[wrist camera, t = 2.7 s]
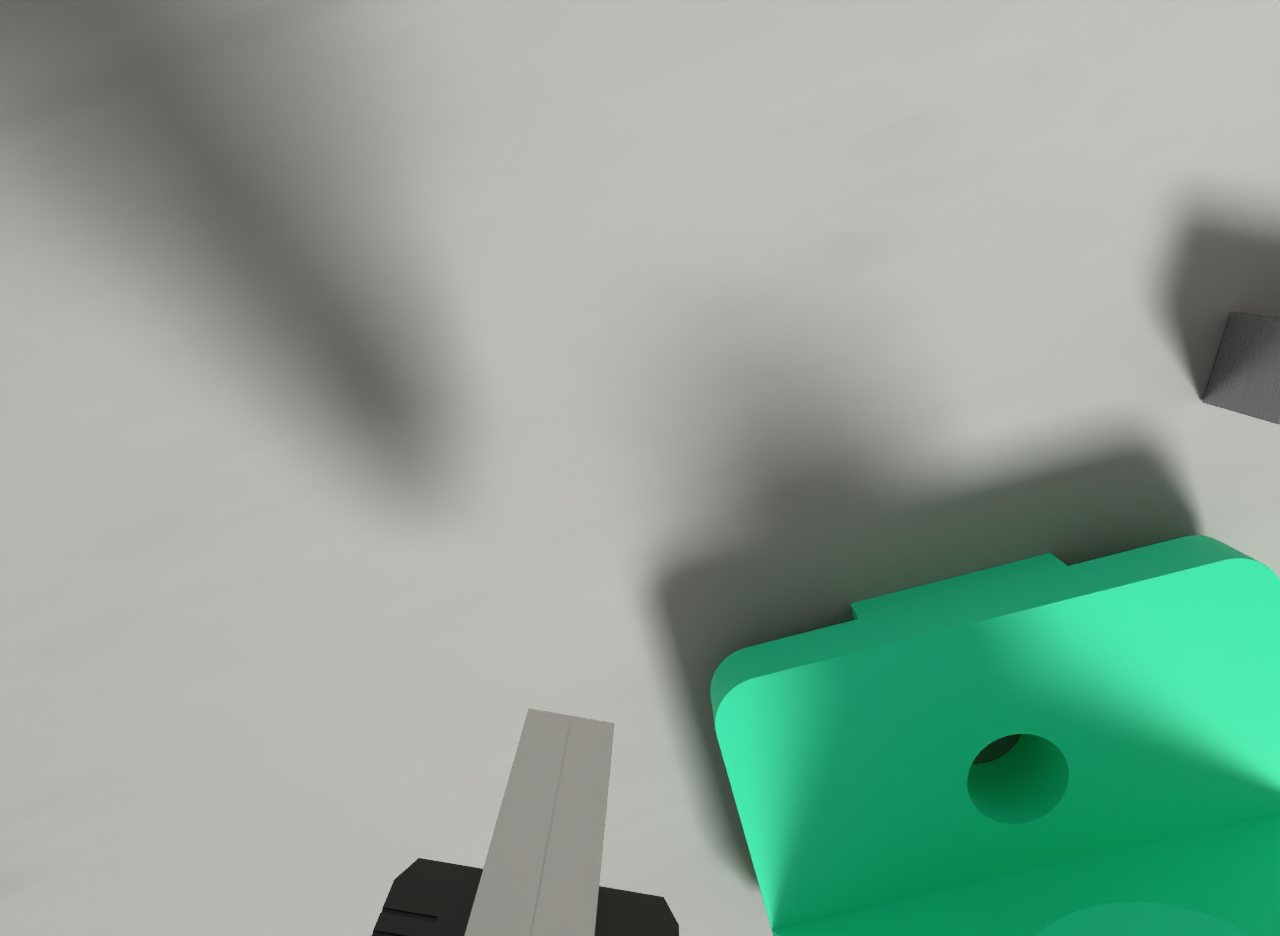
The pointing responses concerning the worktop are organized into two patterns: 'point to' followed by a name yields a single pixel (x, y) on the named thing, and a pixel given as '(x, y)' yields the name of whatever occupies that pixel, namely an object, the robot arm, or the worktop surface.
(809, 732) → the camera mount
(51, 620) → the worktop surface
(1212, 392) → the dock
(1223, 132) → the worktop surface
